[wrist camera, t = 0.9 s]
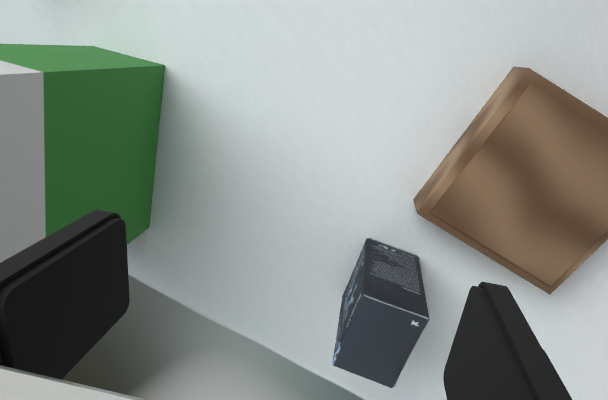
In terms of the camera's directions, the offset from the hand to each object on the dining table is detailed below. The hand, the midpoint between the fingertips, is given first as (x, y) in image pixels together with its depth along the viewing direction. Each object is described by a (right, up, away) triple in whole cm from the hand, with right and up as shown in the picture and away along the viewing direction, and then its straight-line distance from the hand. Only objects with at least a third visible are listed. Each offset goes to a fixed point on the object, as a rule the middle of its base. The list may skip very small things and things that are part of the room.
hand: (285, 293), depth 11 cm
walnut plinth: (+20, +4, +25) cm, 33 cm away
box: (+8, -5, +31) cm, 33 cm away
